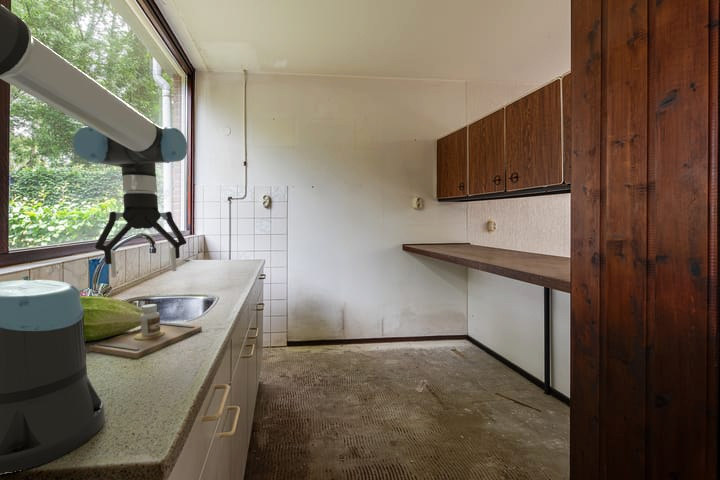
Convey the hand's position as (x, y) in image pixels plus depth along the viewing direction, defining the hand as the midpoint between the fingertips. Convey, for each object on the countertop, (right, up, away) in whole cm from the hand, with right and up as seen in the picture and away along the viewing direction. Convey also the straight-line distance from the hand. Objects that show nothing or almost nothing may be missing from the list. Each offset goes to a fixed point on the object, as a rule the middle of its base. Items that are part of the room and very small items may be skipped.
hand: (145, 273), depth 90 cm
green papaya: (-14, -18, +4) cm, 24 cm away
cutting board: (0, -18, +1) cm, 18 cm away
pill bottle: (+1, -17, +2) cm, 17 cm away
